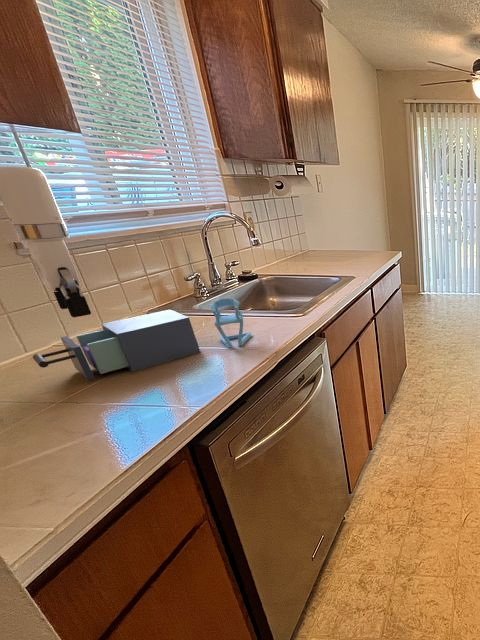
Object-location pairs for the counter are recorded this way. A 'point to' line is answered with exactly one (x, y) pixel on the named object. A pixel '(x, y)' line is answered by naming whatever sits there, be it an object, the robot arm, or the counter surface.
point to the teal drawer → (101, 349)
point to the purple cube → (89, 356)
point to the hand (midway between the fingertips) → (75, 311)
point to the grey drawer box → (154, 338)
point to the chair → (229, 321)
